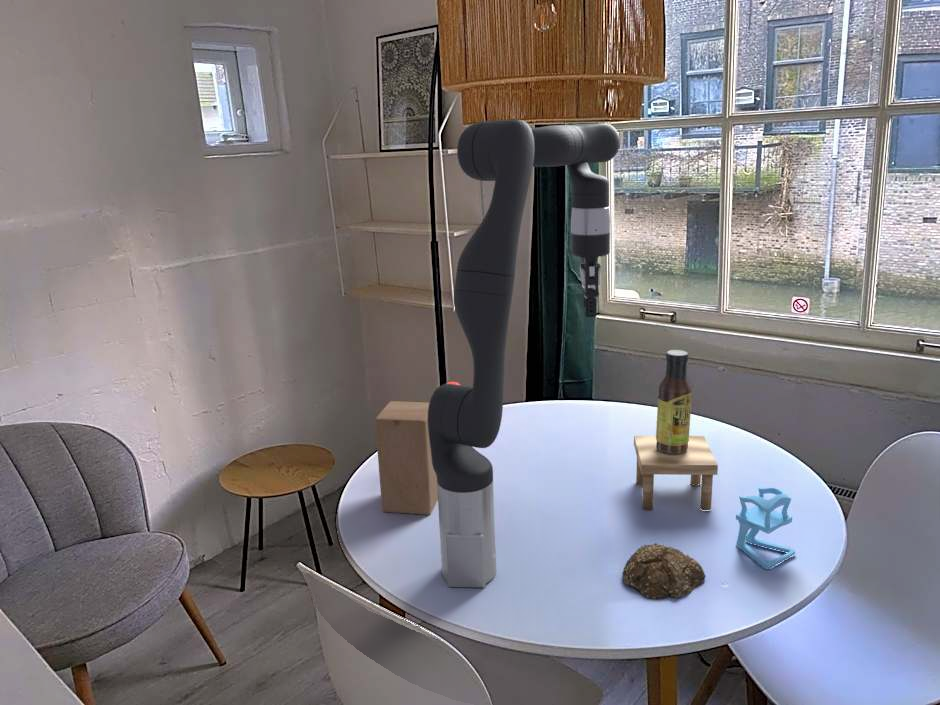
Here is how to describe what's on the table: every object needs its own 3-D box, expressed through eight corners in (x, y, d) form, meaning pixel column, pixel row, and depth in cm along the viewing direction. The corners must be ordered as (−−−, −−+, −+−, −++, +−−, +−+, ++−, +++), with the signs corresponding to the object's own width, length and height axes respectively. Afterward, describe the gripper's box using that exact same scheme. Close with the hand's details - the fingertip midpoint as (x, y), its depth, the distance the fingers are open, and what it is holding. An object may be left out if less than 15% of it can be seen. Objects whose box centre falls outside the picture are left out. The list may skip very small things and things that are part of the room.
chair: (755, 536, 140) (758, 475, 137) (796, 555, 133) (801, 492, 130) (726, 550, 136) (730, 487, 133) (767, 571, 129) (772, 505, 126)
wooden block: (430, 516, 152) (424, 420, 146) (381, 512, 154) (374, 418, 148) (442, 492, 161) (437, 401, 156) (396, 489, 163) (389, 400, 158)
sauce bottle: (674, 459, 149) (678, 359, 143) (649, 449, 154) (651, 352, 148) (695, 449, 153) (700, 352, 147) (670, 440, 158) (673, 346, 152)
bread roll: (648, 550, 137) (648, 525, 136) (713, 576, 129) (714, 549, 128) (606, 582, 129) (606, 555, 127) (673, 611, 120) (674, 583, 119)
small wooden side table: (715, 513, 149) (717, 465, 146) (640, 512, 150) (641, 464, 147) (701, 480, 162) (703, 435, 159) (633, 479, 163) (634, 435, 161)
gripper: (612, 235, 144) (611, 320, 149) (607, 225, 158) (606, 303, 162) (571, 236, 145) (571, 320, 150) (569, 226, 159) (570, 303, 163)
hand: (589, 311), depth 156 cm, fingers open, 8 cm apart
